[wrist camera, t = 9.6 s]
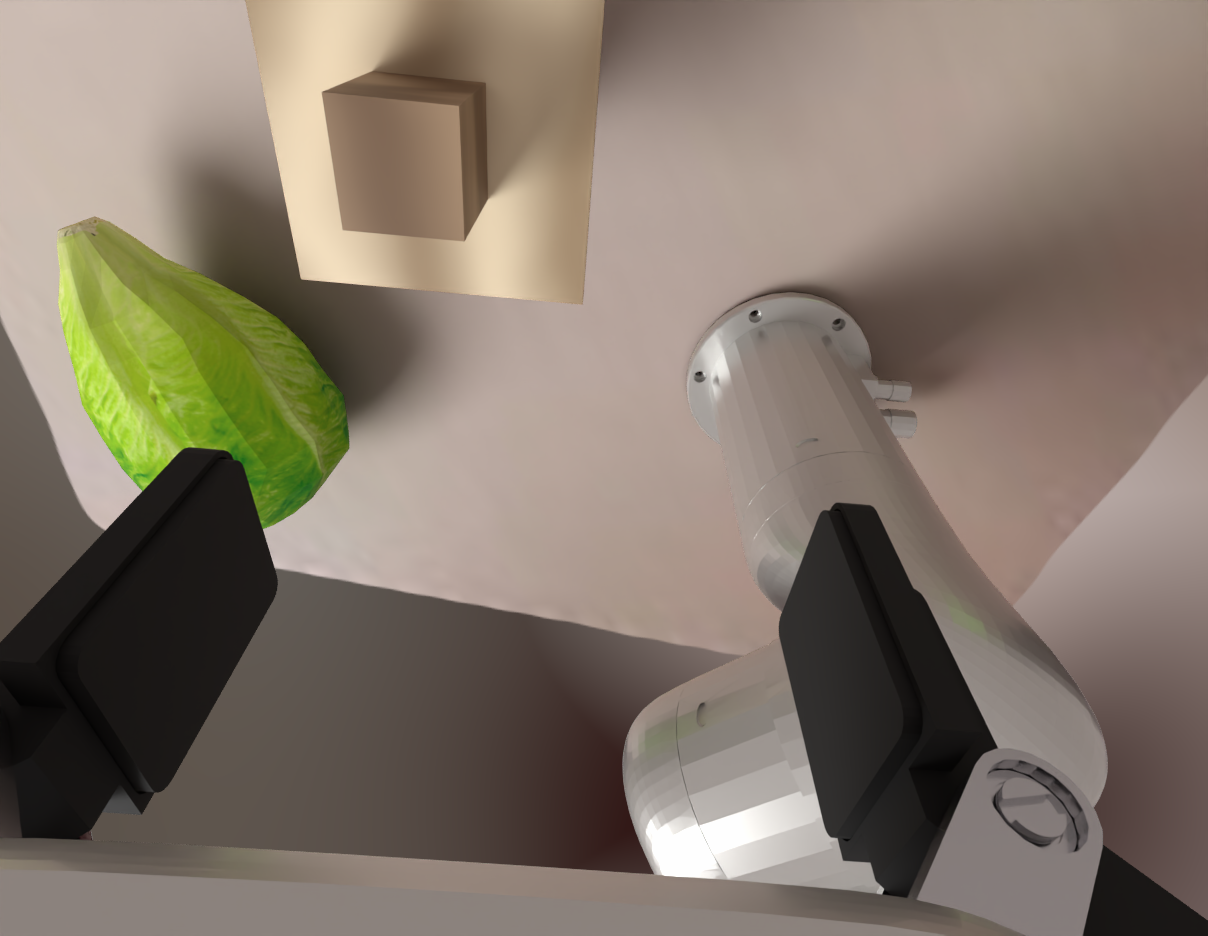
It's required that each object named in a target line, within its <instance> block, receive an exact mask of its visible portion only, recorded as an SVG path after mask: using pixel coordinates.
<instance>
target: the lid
mask: <svg viewBox="0 0 1208 936" xmlns="http://www.w3.org/2000/svg"><path fill="white" fill-rule="evenodd" d="M245 1H246V6H247V11H248V16H249V21H250V26H251V31H252V36H253V41H254V46H255V51H256V56H257V61H258V66H259V71H260V76H261V81H262V86H263V91H264V96H265V101H266V106H267V111H268V116H269V121H270V126H271V131H272V136H273V141H274V146H275V151H276V156H277V161H278V166H279V171H280V177H281V182H282V187H283V192H284V197H285V202H286V207H287V212H288V217H289V222H290V227H291V232H292V237H293V242H294V247H295V252H296V257H297V262H298V267H299V272H300V277H301V279H303V280H314V281H325V282H336V283H348V284H359V285H370V286H381V287H392V288H403V289H415V290H426V291H437V292H448V293H459V294H471V295H482V296H493V297H504V298H515V299H526V300H538V301H549V302H560V303H571V304H583V294H584V281H585V267H586V253H587V239H588V226H589V212H590V198H591V184H592V170H593V157H594V143H595V129H596V115H597V101H598V88H599V74H600V60H601V46H602V33H603V19H604V5H605V0H245Z"/></svg>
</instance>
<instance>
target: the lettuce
mask: <svg viewBox="0 0 1208 936" xmlns="http://www.w3.org/2000/svg"><path fill="white" fill-rule="evenodd" d="M57 250H58V258H59V266H60V283H59V302H58V305H59V310H60V316H61V321H62V326H63V331H64V335H65V339H66V343H67V346H68V350H69V353H70V357H71V360H72V364H73V368H74V371H75V376H76V380H77V384H78V389H79V393H80V397H81V401H82V405H83V407H84V409H85V410H86V412H87V414H88V415H89V417H90V419H91V420H92V422H93V424H94V425H95V427H96V429H97V430H98V432H99V434H100V435H101V437H102V439H103V440H104V442H105V443H106V445H107V446H108V448H109V449H110V451H111V452H112V454H113V455H114V457H115V458H116V460H117V461H118V463H119V464H120V466H121V467H122V469H123V470H124V471H125V472H126V473H127V475H128V476H129V477H130V478H131V479H132V480H133V481H134V482H135V483H136V484H137V486H138V487H139V488H140V489H141V490H142V491H143V490H144V489H145V488H146V487H147V486H148V485H149V484H150V483H151V482H152V481H153V480H154V479H155V477H156V476H157V475H158V474H159V473H160V472H161V471H162V470H163V469H164V468H165V467H166V466H167V465H168V464H169V463H170V462H171V460H172V459H173V458H174V457H175V456H176V455H177V454H178V453H179V452H180V451H181V450H183V449H184V448H188V447H194V448H206V449H217V450H225V451H228V452H229V453H230V454H231V455H232V457H233V459H234V460H237V461H240V462H241V463H242V464H243V467H244V469H245V472H246V476H247V479H248V482H249V485H250V489H251V492H252V495H253V499H254V502H255V505H256V509H257V512H258V515H259V519H260V522H261V525H262V528H263V529H264V528H267V527H270V526H272V525H274V524H276V523H278V522H280V521H281V520H283V519H285V518H286V517H288V516H290V515H291V514H293V513H295V512H296V511H297V510H298V509H299V508H301V507H302V506H303V505H304V504H305V503H307V502H308V501H309V500H310V499H311V498H312V497H313V496H314V495H315V494H316V492H317V491H318V490H319V488H320V487H321V486H322V485H323V483H324V482H325V481H326V479H327V478H328V477H329V475H330V474H331V472H332V471H333V470H334V468H335V467H336V466H337V464H338V463H339V462H340V460H341V459H342V457H343V456H344V455H345V453H346V452H347V451H348V449H349V430H348V423H347V415H346V408H345V401H344V395H343V394H342V393H341V392H340V390H339V389H338V388H337V387H336V386H335V384H334V383H333V382H332V381H331V379H330V378H329V377H328V376H327V374H326V373H325V372H324V371H323V369H322V368H321V366H320V365H319V364H318V362H317V361H316V359H315V358H314V356H313V355H312V354H311V352H310V351H309V349H308V348H307V347H306V345H305V344H304V343H303V342H302V341H301V340H300V339H299V338H298V337H297V336H296V335H295V334H294V333H293V332H292V331H291V330H290V329H289V328H288V327H287V326H286V325H285V324H284V323H283V322H281V321H280V320H279V319H278V318H277V317H276V316H274V315H272V314H271V313H269V312H268V311H266V310H264V309H263V308H261V307H259V306H258V305H256V304H255V303H253V302H251V301H250V300H248V299H246V298H245V297H243V296H241V295H239V294H238V293H236V292H234V291H232V290H230V289H228V288H226V287H224V286H222V285H221V284H219V283H217V282H215V281H213V280H211V279H209V278H207V277H205V276H204V275H202V274H200V273H197V272H195V271H193V270H190V269H188V268H186V267H184V266H181V265H179V264H177V263H174V262H172V261H170V260H167V259H165V258H163V257H162V256H160V255H159V254H157V253H156V252H154V251H153V250H152V249H150V248H149V247H147V246H146V245H144V244H143V243H142V242H140V241H139V240H137V239H136V238H134V237H133V236H131V235H130V234H128V233H126V232H125V231H123V230H122V229H120V228H118V227H117V226H115V225H114V224H112V223H110V222H108V221H105V220H103V219H100V218H97V217H95V216H94V217H92V218H89V219H87V220H83V221H81V222H79V223H76V224H73V225H70V226H67V227H64V228H62V229H60V230H58V238H57Z"/></svg>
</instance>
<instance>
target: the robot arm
mask: <svg viewBox="0 0 1208 936" xmlns="http://www.w3.org/2000/svg"><path fill="white" fill-rule="evenodd" d="M754 310H757V312H756V313H755V314H751V312H752V311H754ZM836 319H838V320H837V321H836V322H834V321H835V320H836ZM699 371H702V372H701V373H697V372H699ZM686 390H687V396H688V402H689V405H690V409H691V412H692V415H693V417H694V418H695V420H696V422H697V423H698V425H699V427H700V428H701V429H702V430H703V431H704V432H705V433H706V434H707V435H708V437H710V438H711V439H712V440H714V441H715V442H716V443H718V444H719V445H721V449H722V454H723V459H724V463H725V468H726V472H727V477H728V482H729V486H730V491H731V495H732V500H733V505H734V509H735V514H736V518H737V523H738V527H739V532H740V537H741V541H742V546H743V550H744V555H745V559H746V562H747V565H748V568H749V571H750V573H751V575H752V577H753V579H754V581H755V583H756V585H757V586H758V588H759V589H760V591H761V592H762V593H763V594H764V595H765V597H766V598H767V599H768V600H769V601H770V602H771V603H772V604H773V605H774V606H775V607H776V608H778V609H779V610H780V611H781V612H782V614H781V617H780V621H779V637H780V638H778V639H776V640H774V641H772V642H771V643H770V644H769V645H766V646H764V647H762V648H760V649H758V650H755V651H753V652H751V653H749V654H747V655H744V656H742V657H740V658H738V659H736V660H733V661H731V662H729V663H727V664H725V665H722V666H720V667H718V668H716V669H714V670H712V671H709V672H707V673H705V674H703V675H701V676H698V677H696V678H694V679H692V680H690V681H688V682H686V683H684V684H682V685H680V686H678V687H676V688H674V689H672V690H671V691H669V692H667V693H665V694H663V695H661V696H660V697H658V698H657V699H655V700H654V701H653V702H651V703H650V704H649V705H648V706H647V707H646V708H645V709H644V710H643V711H642V712H641V713H640V714H639V715H638V717H637V718H636V719H635V721H634V723H633V724H632V726H631V729H630V731H629V733H628V736H627V739H626V743H625V747H624V754H623V779H624V788H625V794H626V799H627V803H628V808H629V812H630V815H631V818H632V822H633V825H634V828H635V830H636V833H637V836H638V838H639V841H640V843H641V846H642V848H643V850H644V852H645V855H646V857H647V859H648V861H649V864H650V866H651V868H652V870H653V872H654V874H655V875H651V874H637V873H636V874H635V873H622V872H608V871H607V872H606V871H593V870H579V869H563V868H549V867H534V866H518V865H503V864H488V863H472V862H457V861H441V860H425V859H409V858H394V857H378V856H362V855H346V854H329V853H314V852H297V851H296V852H295V851H280V850H264V849H247V848H230V847H228V848H227V847H213V846H196V845H180V844H163V843H141V842H117V841H93V840H92V834H91V829H92V827H93V826H94V824H95V823H96V821H97V819H98V818H99V816H100V815H101V813H102V812H107V813H123V814H138V815H141V814H142V813H143V812H144V810H145V808H146V806H147V804H148V803H149V801H150V800H151V798H152V796H153V794H154V793H155V792H161V791H163V790H164V789H165V788H166V787H167V786H168V785H169V783H170V782H171V780H172V779H173V777H174V775H175V773H176V772H177V770H178V768H179V766H180V765H181V763H182V761H183V759H184V758H185V756H186V754H187V752H188V750H189V749H190V747H191V745H192V743H193V741H194V740H195V738H196V736H197V734H198V733H199V731H200V729H201V727H202V726H203V724H204V722H205V720H206V719H207V717H208V715H209V713H210V711H211V710H212V708H213V706H214V704H215V703H216V701H217V699H218V697H219V696H220V694H221V692H222V690H223V688H224V687H225V685H226V683H227V681H228V679H229V678H230V676H231V674H232V672H233V670H234V669H235V667H236V665H237V663H238V662H239V660H240V658H241V657H242V654H243V653H244V651H245V649H246V648H247V646H248V644H249V642H250V641H251V639H252V637H253V635H254V633H255V632H256V630H257V628H258V626H259V625H260V623H261V621H262V619H263V617H264V615H265V614H266V612H267V610H268V608H269V607H270V605H271V603H272V602H273V600H274V597H275V595H276V591H277V585H278V582H277V581H278V580H277V575H276V571H275V568H274V565H273V562H272V558H271V555H270V552H269V548H268V545H267V542H266V538H265V535H264V532H263V528H262V525H261V522H260V519H259V515H258V512H257V509H256V505H255V502H254V499H253V495H252V492H251V489H250V485H249V482H248V479H247V476H246V472H245V469H244V467H243V464H242V463H241V462H240V461H237V460H234V459H233V457H232V455H231V454H230V453H229V452H228V451H225V450H217V449H206V448H194V447H188V448H184V449H183V450H181V451H180V452H179V453H178V454H177V455H176V456H175V457H174V458H173V459H172V460H171V462H170V463H169V464H168V465H167V466H166V467H165V468H164V469H163V470H162V471H161V472H160V473H159V474H158V475H157V476H156V477H155V479H154V480H153V481H152V482H151V483H150V484H149V485H148V486H147V487H146V488H145V489H144V490H143V491H142V492H141V493H140V495H139V496H138V497H137V498H136V499H135V500H134V501H133V502H132V503H131V504H130V505H129V506H128V507H127V508H126V509H125V510H124V512H123V513H122V514H121V515H120V516H119V517H118V518H117V519H116V520H115V521H114V522H113V523H112V524H111V525H110V526H109V527H108V529H107V530H106V531H105V532H104V533H103V534H102V535H101V536H100V537H99V538H98V539H97V540H96V542H94V543H93V545H92V546H91V547H90V548H89V549H88V550H87V551H86V552H85V553H84V554H83V555H82V556H81V557H80V558H79V559H78V561H77V562H76V563H75V564H74V565H73V566H72V567H71V568H70V569H69V570H68V571H67V572H66V573H65V574H64V575H63V576H62V578H61V579H60V580H59V581H58V582H57V583H56V584H55V585H54V586H53V587H52V588H51V589H50V590H49V591H48V592H47V594H46V595H45V596H44V597H43V598H42V599H41V600H40V601H39V602H38V603H37V604H36V605H35V606H34V607H33V609H31V611H30V612H29V613H28V614H27V615H26V616H25V617H24V618H23V619H22V620H21V621H20V622H19V623H18V624H17V625H16V627H15V628H14V629H13V630H12V631H11V632H10V633H9V634H8V635H7V636H6V637H5V638H4V639H3V640H2V641H1V642H0V936H1208V920H1206V919H1205V918H1203V917H1202V916H1201V915H1199V914H1198V913H1197V912H1195V911H1194V910H1192V909H1191V908H1190V907H1188V906H1187V905H1186V904H1184V903H1183V902H1181V901H1180V900H1179V899H1177V898H1176V897H1174V896H1173V895H1172V894H1170V893H1169V892H1168V891H1166V890H1165V889H1163V888H1162V887H1161V886H1159V885H1158V884H1156V883H1155V882H1154V881H1152V880H1151V879H1149V878H1148V877H1147V876H1145V875H1144V874H1143V873H1141V872H1140V871H1139V870H1137V869H1136V868H1134V867H1133V866H1132V865H1130V864H1129V863H1127V862H1126V861H1125V860H1123V859H1122V858H1120V857H1119V856H1118V855H1116V854H1115V853H1113V852H1112V851H1111V850H1109V849H1108V848H1107V847H1105V846H1104V845H1103V830H1102V828H1101V825H1100V822H1099V820H1098V816H1097V813H1096V812H1095V810H1094V806H1095V804H1096V803H1097V801H1098V800H1099V798H1100V795H1101V793H1102V791H1103V788H1104V786H1105V781H1106V776H1107V762H1108V760H1107V753H1106V746H1105V742H1104V739H1103V735H1102V732H1101V729H1100V726H1099V724H1098V721H1097V719H1096V717H1095V715H1094V713H1093V711H1092V709H1091V708H1090V706H1089V704H1088V702H1087V701H1086V699H1085V697H1084V695H1083V694H1082V692H1081V690H1080V689H1079V687H1078V685H1077V683H1076V682H1075V681H1074V679H1073V678H1072V677H1071V676H1070V674H1069V673H1068V672H1067V670H1066V669H1065V668H1064V666H1063V665H1062V664H1061V662H1060V661H1059V660H1058V659H1057V657H1056V656H1055V655H1054V653H1053V652H1052V651H1051V649H1050V648H1049V647H1048V646H1047V645H1046V644H1045V643H1044V641H1043V640H1042V639H1041V638H1040V637H1039V636H1038V635H1037V633H1036V632H1035V631H1034V630H1033V629H1032V628H1031V627H1030V626H1029V625H1028V623H1027V622H1026V621H1025V620H1024V619H1023V618H1022V617H1021V615H1020V614H1019V613H1018V612H1017V611H1016V610H1015V609H1014V608H1013V606H1012V605H1011V604H1010V603H1009V602H1008V601H1007V600H1006V598H1005V597H1004V596H1003V595H1002V594H1001V593H1000V592H999V590H998V589H997V588H996V587H995V586H994V585H993V584H992V582H991V581H990V580H989V579H988V577H987V576H986V575H985V573H984V572H983V571H982V570H981V568H980V567H979V566H978V565H977V563H976V562H975V561H974V560H973V558H972V557H971V556H970V554H969V553H968V552H967V550H966V549H965V547H964V546H963V544H962V543H961V541H960V540H959V538H958V537H957V535H956V534H955V532H954V531H953V529H952V528H951V526H950V525H949V523H948V522H947V520H946V519H945V517H944V516H943V514H942V513H941V511H940V510H939V508H938V506H937V505H936V503H935V502H934V500H933V498H932V497H931V495H930V493H929V492H928V490H927V488H926V487H925V485H924V483H923V482H922V480H921V479H920V477H919V475H918V474H917V472H916V470H915V469H914V467H913V465H912V464H911V462H910V460H909V459H908V457H907V455H906V454H905V452H904V450H903V448H902V447H901V445H900V443H899V442H898V440H897V438H896V437H898V438H911V437H912V436H913V435H914V433H915V431H916V427H917V417H916V414H915V413H914V412H913V411H908V410H897V409H885V410H882V409H879V408H878V407H877V405H876V403H875V402H874V399H875V398H876V399H886V400H887V401H897V402H907V401H908V400H909V399H910V397H911V393H912V386H911V383H910V382H907V381H896V380H889V381H886V380H878V378H877V376H874V375H873V373H872V372H871V353H870V349H869V345H868V342H867V340H866V338H865V336H864V334H863V332H862V330H861V328H860V327H859V326H858V324H857V323H856V322H855V320H854V319H853V318H852V317H851V316H850V315H849V314H848V313H847V312H846V311H845V310H844V309H842V308H841V307H840V306H838V305H836V304H834V303H833V302H831V301H829V300H827V299H824V298H821V297H818V296H815V295H811V294H805V293H795V292H788V293H776V294H770V295H766V296H762V297H758V298H754V299H752V300H750V301H748V302H745V303H743V304H741V305H739V306H737V307H735V308H734V309H732V310H731V311H729V312H728V313H726V314H725V315H723V316H722V317H720V318H719V319H718V320H717V321H716V322H715V323H714V324H713V325H712V326H711V327H710V328H709V329H708V330H707V331H706V333H705V334H704V335H703V337H702V338H701V339H700V341H699V342H698V344H697V346H696V348H695V350H694V352H693V354H692V356H691V358H690V362H689V366H688V370H687V380H686Z"/></svg>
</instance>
